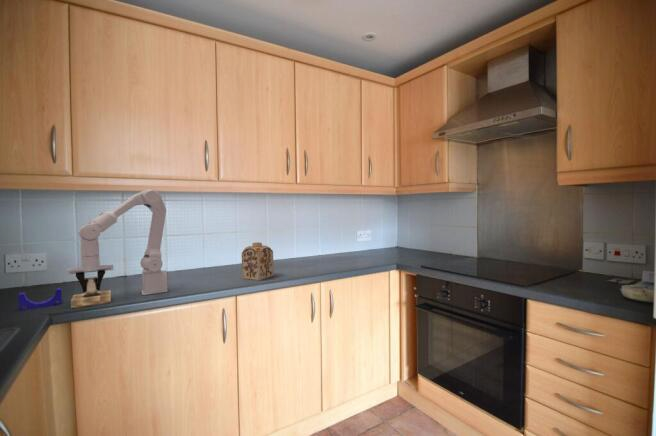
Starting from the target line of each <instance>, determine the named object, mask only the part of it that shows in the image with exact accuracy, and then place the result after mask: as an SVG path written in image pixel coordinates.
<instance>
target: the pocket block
mask: <svg viewBox="0 0 656 436" xmlns="http://www.w3.org/2000/svg"><path fill="white" fill-rule="evenodd" d="M111 293H112V291H111V289H110V290H109V289H108V290H100V291H98V296H93V297H85V293H79V294H73V295H72V298H71V300H70V307H71V308H70V309H71V310H73V309H72V308H74V309H80V308H81V309H82V308H89V307H94V306H101V305H106V304H107V305H108V304H111V303H112V296H111V295H112V294H111Z"/></svg>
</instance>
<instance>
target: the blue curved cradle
mask: <svg viewBox="0 0 656 436" xmlns="http://www.w3.org/2000/svg"><path fill="white" fill-rule="evenodd" d="M17 297H18V299H17V301H18V311H26V310H32V309H40V308H46V306H48V307H52V306H53V305H55V306H59V305H60V304H61V305H63V289H62V287H56V289H55V293H54V295H52V297H50V298H49V299H46V300H42V301H40V302H38V301H34V300H31V299H29V298H28V297H27V295H26V292H25V291H24V292H19V293H18V296H17ZM61 305H60V306H61Z"/></svg>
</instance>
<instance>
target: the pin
mask: <svg viewBox="0 0 656 436" xmlns="http://www.w3.org/2000/svg"><path fill="white" fill-rule="evenodd" d="M98 292H99V290H98V276H87V277H85V292H84V294H85V297H93V296H98Z"/></svg>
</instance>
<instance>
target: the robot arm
mask: <svg viewBox="0 0 656 436" xmlns="http://www.w3.org/2000/svg"><path fill="white" fill-rule="evenodd" d="M140 205H141V206H145V207H147V209H148V210H150V212H151V213H152V214H151V215H152V216H151V221H150V228H149V234H148V239H147V245H146V249H145V251H144V254H143V257H142V258H141V260H140V261H139V262H140V263H139V264H140V267H141V268H142V271H141V274H142V277H141V278H142V290H141V294H142V296H146V295H153V294H160V293H168V273H167V270H162V267H163V260H162V256H163V255H162V252H161V247H162V240H163V236H164V235H163V234H164V227H165V221H166V216H167V208H166V205H165V203H164V200H163V196H162V195H161V194H160V193H159V192H158V190H156V189H153V188H151V189H144V190H141V191H140V192H137V193H136V194H133V195H132V196H130V197H129V198H128V199H126V200H125V201H124V202H122V203H120V205H117V207H115V208H114V209H113V210H111V211H107V210H105V211H101V212H99V214H98V216H96V217H95V218H94V219H92V220H88V221H87V223H88V224H84V225H82V226H81V227H80V228H79V231H78V236H79V237H80V265H81V267H74V268H73V267H72V268H67V269H66V276H69V275H75V278H76V279H77V281H78V282H79V284H80V286H81V289H82V293H85V278H86V276H85V273H94V272H96V273H97V276H96V277H97V278H98V291H101V284H102V281H103V279H104V276H105V274H106V271H107V272H108V271H114V264H104V265H103V264H102V265H101V264H100V262H101V261H100V244H99V237H100V236H101V233H104V232H105V231H107V230H108V229H109V228H111V227H112V226H113V225H114V224H116V223H117V222H118V218H119V217H120V216H122V215H123V214H126V212H128V211H130V210H131V209H133V208H134V207H137V206H140Z"/></svg>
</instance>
